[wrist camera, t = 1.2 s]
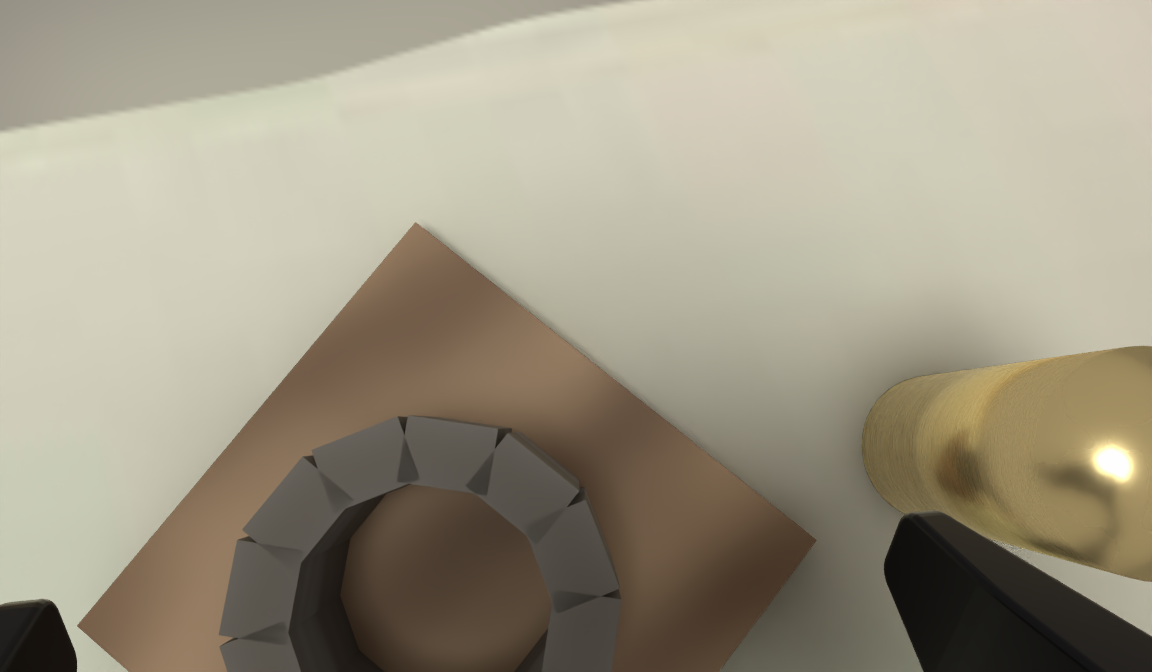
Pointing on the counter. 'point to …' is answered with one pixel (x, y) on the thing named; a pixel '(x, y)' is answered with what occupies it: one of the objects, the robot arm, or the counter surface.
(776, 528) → the ring socket
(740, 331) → the counter surface
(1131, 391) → the brass pin
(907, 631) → the robot arm
